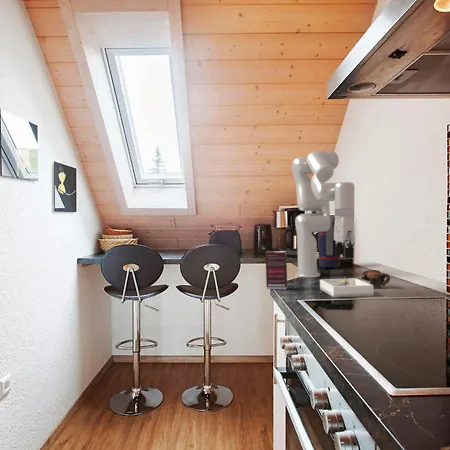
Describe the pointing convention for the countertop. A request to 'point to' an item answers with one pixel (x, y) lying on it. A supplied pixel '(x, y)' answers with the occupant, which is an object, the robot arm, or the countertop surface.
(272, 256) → the supplement box
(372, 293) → the bin
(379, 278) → the brown two-tone ridged part
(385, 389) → the countertop surface
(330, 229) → the navy blue canister
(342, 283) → the figurine
